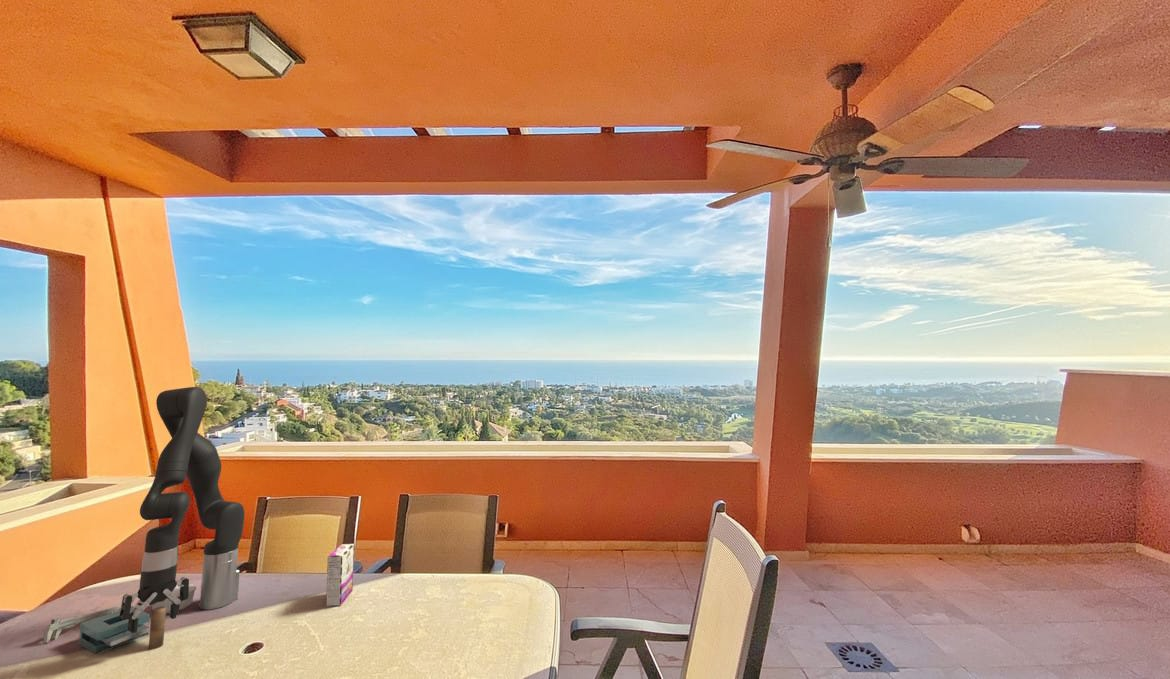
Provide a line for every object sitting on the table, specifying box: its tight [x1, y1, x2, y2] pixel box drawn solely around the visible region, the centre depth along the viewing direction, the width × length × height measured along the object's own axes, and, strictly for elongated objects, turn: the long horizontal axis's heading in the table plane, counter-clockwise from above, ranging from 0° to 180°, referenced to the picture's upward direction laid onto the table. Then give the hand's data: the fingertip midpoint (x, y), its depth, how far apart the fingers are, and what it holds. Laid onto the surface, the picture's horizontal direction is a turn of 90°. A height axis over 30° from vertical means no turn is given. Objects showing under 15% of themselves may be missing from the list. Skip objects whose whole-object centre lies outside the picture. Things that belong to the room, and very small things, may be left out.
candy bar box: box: [325, 543, 355, 608], centre depth 155 cm, size 11×5×16 cm, turn 8°
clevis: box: [78, 605, 151, 655], centre depth 130 cm, size 11×16×6 cm
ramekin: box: [151, 583, 197, 615], centre depth 149 cm, size 11×11×5 cm
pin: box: [148, 607, 167, 650], centre depth 127 cm, size 3×3×10 cm
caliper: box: [43, 605, 121, 644], centre depth 138 cm, size 20×1×6 cm, turn 178°
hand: (153, 624), depth 127 cm, fingers open, 8 cm apart
